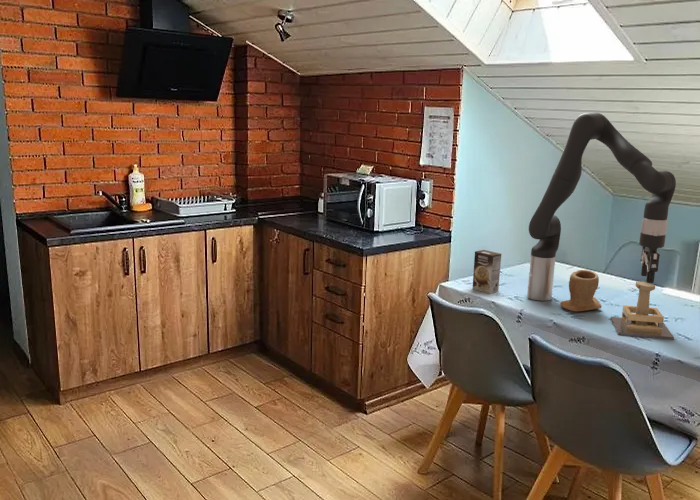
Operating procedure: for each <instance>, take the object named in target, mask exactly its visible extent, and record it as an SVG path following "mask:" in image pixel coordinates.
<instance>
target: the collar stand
mask: <svg viewBox="0 0 700 500" xmlns="http://www.w3.org/2000/svg"><path fill="white" fill-rule="evenodd" d="M636 307H637V305H636V306H633V305H622V311H621V317H619V316H617V317H616V316H610V322H611V324H612V325H613V328H614V329H615V332H616V334H617V335H618V336H626V337H637V338H648V339H660V340H668V341H669V340H670V341H674V340H675V336H674V335H673V333H672V332H671V331H670V330H669V328H668V327H667V326H666V323H665V322H664V319H665V317H664V316H663V314H662V313H661V311H660V309H658V308H656V307H649V314H648V315H643V314H636ZM636 321H645V322H646V325H636Z"/></svg>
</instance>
